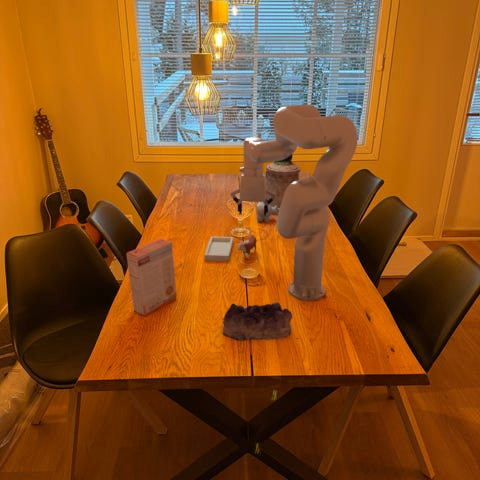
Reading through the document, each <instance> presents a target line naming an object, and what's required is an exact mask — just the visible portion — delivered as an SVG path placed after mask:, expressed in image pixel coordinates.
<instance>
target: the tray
mask: <svg viewBox="0 0 480 480" xmlns="http://www.w3.org/2000/svg"><path fill="white" fill-rule="evenodd" d="M233 245H234V237H233V236H210V239H209V241H208V244H207V247H206V250H205V253H204V261H205V262H229V261H230V257H231V255H232V250H233Z"/></svg>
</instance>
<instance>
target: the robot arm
mask: <svg viewBox="0 0 480 480" xmlns="http://www.w3.org/2000/svg"><path fill="white" fill-rule="evenodd" d="M272 124H273V128H274V137H275V139H270V140H264V139H262V137H261V138H258V136H257V137H256V136H255V137H254V136H253V137H252V136H251V137H247V138H245V139H244V140H243V166H242V167H239V172H241V173H242V174H241V176H240V180H239V181H240V182H239V188H237V189H235V190H233V191H231V192H230V197H231V198H232V200H233V201H234V202H235V203H236V205H237V212H238V213H239V215H242V213H243V202H247V203H248V202H249V203H250V202H251V203H252V202H253V203H259V202H263V203H264V216H266V213H268V205H269V204H270V203H271V202H272V201H273V199H274V198H275V196H276V194H275V193H273V192H271V191H269V190H267V189H266V178H265V176H266V173H264V164H268V163H271V162H272V163H273V162H274V161H280V160H283V159H285V158H287V157H289V156H290V155H291V154H292V155H293V154H294V153H295V152H296V151H297V147H298V148H299V149H300V148H301V149H303V150H317V149H323V148H327V149H326V151H325V152H324V153H323V154H322V155H321V157H319V159H318V161H317V163H316V165H315V169H314V171H313V173H312V174H311V175H310V176H309V177H307V178H301V179H299V180H297V181H294V182H292V183H291V184H290V185H289V186H288V187H287V189H286V191H285V193H284V196H283V199H282V203H281V206H280V209H279V212H278V216H277V215H276V217H277V218H276V228H277V229H276V230H277V232H278V234H279V235H280V237H282V238H284V239H287V240H292V239H296V240H295V244H294V260H293V261H294V262H293V276H292V277H293V279H292V282H291V283H290V284H289V285H288V288H287V289H288V291H287V292H288V293H289V295H290V296H291V297H293V298H294V299H297V300H301V301H304V302H305V301H307V302H308V301H309V302H310V301H317V300H320V299H322V298H323V297H324V296H325V295H326V288H325V286H323V284H322V281H323V280H322V278H323V266H324V253H325V243H326V237H327V232H328V230H329V225H330V220H331V219H330V218H331V216H330V212H329V210H328V208H327V207H328V206H329V205H331V204H332V203H333V201H334V200H335V199H336V198H335V197H336V195H337V193H338V190H339V188H340V185H341V183H342V181H343V178H344V175H345V172H346V170H347V169H348V167H349V165H350V163H351V162H352V159H353V157H354V155H355V153H356V150H357V147H358V146H357V145H358V131H357V127H356V125H355V123H354V122H353V121H352V120H351V118H349V117H347V116H343V115H325V116H321V113H320V111H319V109H318V108H317V107H315V106H314V105H312V104H297V105H296V104H294V105H293V104H292V105H285V106H282V107H279V109H278V110H277V111H275V113H274V116H273V120H272ZM266 193H267V194H268V195H270V196H271V198H270V199H269V200H267V199H266ZM238 194H239V198H238V197H237V196H236V195H238Z"/></svg>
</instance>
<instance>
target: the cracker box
mask: <svg viewBox="0 0 480 480" xmlns="http://www.w3.org/2000/svg"><path fill="white" fill-rule="evenodd" d="M173 252H174V250H173V243H172V242H171V241H168V240H165V239H162V238H159V239H157V240H154V241H151V242H149V243H148V244H144V245H142V246H140V247H137V248H134V249H133V250H131V251H130V250H129V251H127V252H126V254H125V256H126V261H127V262H126V263H127V269H128V275H129V277H128V278H129V283H130V291H131V299H132V306H133V311H134V312H135V313H138V314H140V315H141V316H143V317H147V316H148V315H150V314H151V313H154V312H155V311H157V310H159V309H160V308H162V307H164V306H166V305H168V304H170V303H172V302H173V301H175V300H177V299H178V298H177V289H176V288H177V286H176V274H175V265H174V264H175V262H174V253H173Z"/></svg>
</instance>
